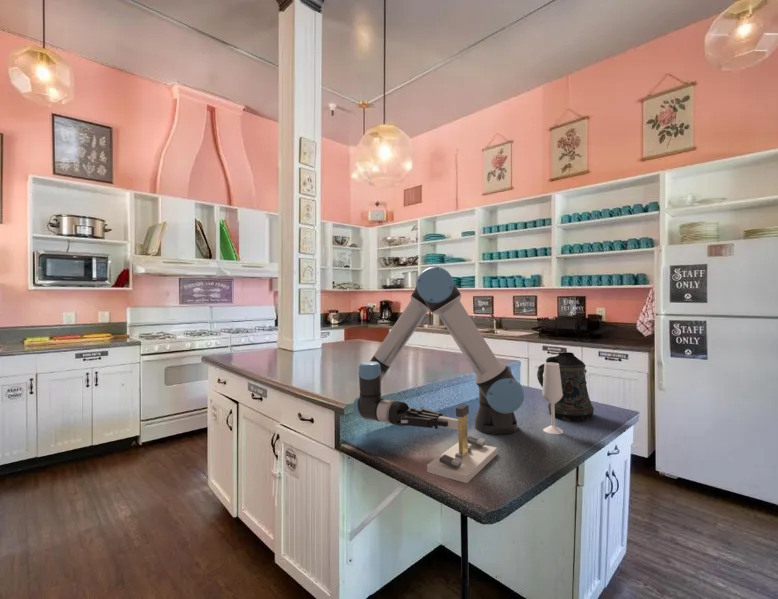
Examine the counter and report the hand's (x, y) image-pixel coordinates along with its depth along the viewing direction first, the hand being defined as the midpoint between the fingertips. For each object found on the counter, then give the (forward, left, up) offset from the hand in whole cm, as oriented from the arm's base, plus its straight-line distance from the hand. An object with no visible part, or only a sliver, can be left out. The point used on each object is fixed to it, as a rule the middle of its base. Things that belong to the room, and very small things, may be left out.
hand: (459, 424), depth 113 cm
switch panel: (-1, 0, -11) cm, 11 cm away
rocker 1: (+5, +6, -8) cm, 11 cm away
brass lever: (-1, 0, -8) cm, 8 cm away
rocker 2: (-7, -6, -8) cm, 12 cm away
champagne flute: (-41, -18, -11) cm, 46 cm away
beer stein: (-56, -32, -11) cm, 65 cm away
